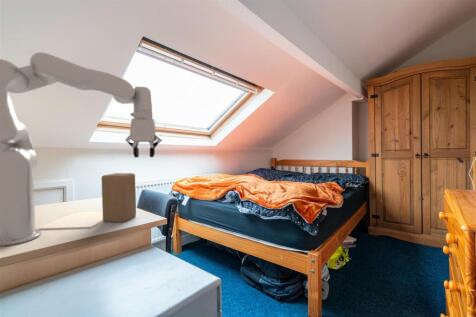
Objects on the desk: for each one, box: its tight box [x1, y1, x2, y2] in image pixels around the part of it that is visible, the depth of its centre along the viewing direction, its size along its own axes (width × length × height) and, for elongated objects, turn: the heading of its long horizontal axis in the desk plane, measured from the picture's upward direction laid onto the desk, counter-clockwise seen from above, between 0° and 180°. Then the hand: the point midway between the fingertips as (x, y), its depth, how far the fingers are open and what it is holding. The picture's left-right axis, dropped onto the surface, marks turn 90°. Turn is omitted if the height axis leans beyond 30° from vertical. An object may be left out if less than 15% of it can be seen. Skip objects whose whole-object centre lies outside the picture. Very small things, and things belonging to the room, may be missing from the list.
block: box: [101, 172, 137, 223], centre depth 101 cm, size 10×10×20 cm
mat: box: [37, 211, 104, 231], centre depth 100 cm, size 20×22×1 cm
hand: (144, 156), depth 101 cm, fingers open, 5 cm apart
